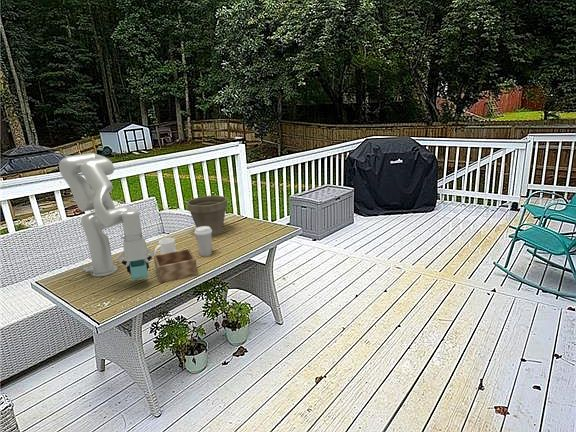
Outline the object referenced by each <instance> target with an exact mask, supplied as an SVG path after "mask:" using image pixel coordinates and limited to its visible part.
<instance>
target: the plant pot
mask: <svg viewBox="0 0 576 432" xmlns="http://www.w3.org/2000/svg"><path fill="white" fill-rule="evenodd" d="M186 206H187V210H188V211H189V212H190V215H191V217H192V219H193V222H194V225H195V229H196V228H198V227H201V226H209V227H210V228H211V230H212V232H211V237H214V236H217V235H219V234H221V233H222V232H223V228H224V224H225V218H226V217H225V216H226V209H227V207H228V198H227V197H225V196H223V195H221V196H220V195H207V196H206V195H205V196H200V197H194V198H191V199H189V200H188V201H187V202H186Z"/></svg>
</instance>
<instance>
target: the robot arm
mask: <svg viewBox="0 0 576 432" xmlns="http://www.w3.org/2000/svg"><path fill="white" fill-rule="evenodd" d="M58 167H59V172H60V175H61V176H62V178H63V180H64V181H65V182H66V184H67V185H68V187H69V188H70V191H71V195H72V196H73V198H74V202H75V204H76V206H77V207H78V209H79V210H80V211H82V212H88V211H92V212H90V213H87V214H85V215H84V216H83V217H81V227H82V230H83V232H84V233H85V236H86V241H87V244H88V245H87V246H88V249H89V254H90V259H91V264H90V265H89V266H85V267H83V268H82V269H83V272H86V273H88V272H90V275H91V276H92V277H96V278H97V277H100V278H101V277H107V276H109V275H112V274H114V273H115V272H117V270H118V265H116V264H114V260H113V256H112V250H111V245H110V240H109V237H108V235H107V234H106V233H104V231H103V230H105V229H108V228H111V227H114V226H118V225H121V224H122V227H123V234H122V235H120V239H122V240H123V243H122V244H123V247H122V248H123V252H122V254H121V255H120V256H119V257H118V258H117V261H118V262H119V263H121V264H122V265H123V266H125V267H126V271H127V273H129V275H131V271H130V265H129V263H130V262H132V261H137V260H143V259H144V260H145V262H146V266H147V272H148V271H149V269H150V264H149V262H150V261H151V259H153V258H154V256H155V253H154V252H155V251H152V250H151V249H148V247H147V242H146V240H145V239H146V238H145V237H144V236H143V232H142V224H141V216H140V212H139V210H137V209H135V208H131V207H130V206H128V205H123V206H118V207H116V206H115V203H114V202H113V199H112V197H111V195H110V193H111V192H112V191H113V188H114V186H113V183H112V182H111V180H110V179H109V177H108V176H110V175H112V174H114V172H115V166H114V164H113V162H112V161H111V160H110V158H108V157H105V156H103V155H100V154H97V153H93V152H90V153H83V154H76V155H72V156H71V155H70V156H66V157H63V158H62V159H60V161H59V163H58ZM80 174H82V175H80ZM93 210H94V211H93ZM123 259H124V260H123Z"/></svg>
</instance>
